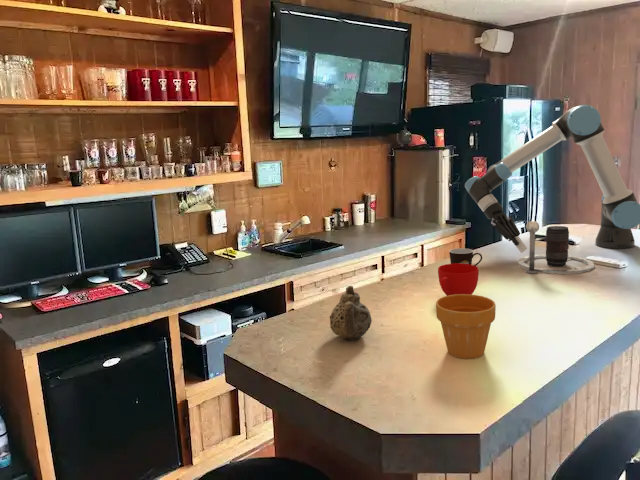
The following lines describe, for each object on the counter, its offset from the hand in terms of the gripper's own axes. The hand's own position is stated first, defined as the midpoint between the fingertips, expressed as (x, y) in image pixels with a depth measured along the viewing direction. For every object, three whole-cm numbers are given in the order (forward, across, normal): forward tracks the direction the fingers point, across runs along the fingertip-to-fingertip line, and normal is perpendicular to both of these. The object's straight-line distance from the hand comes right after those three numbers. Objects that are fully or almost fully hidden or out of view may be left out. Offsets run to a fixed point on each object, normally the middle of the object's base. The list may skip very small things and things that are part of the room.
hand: (524, 250), depth 218 cm
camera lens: (+13, 0, +7) cm, 15 cm away
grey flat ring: (+12, 0, +7) cm, 14 cm away
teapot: (+15, +106, +9) cm, 107 cm away
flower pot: (+34, +90, +28) cm, 100 cm away
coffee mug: (+3, +37, -3) cm, 37 cm away
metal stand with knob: (+12, +12, +7) cm, 19 cm away
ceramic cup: (+13, +59, +7) cm, 61 cm away
